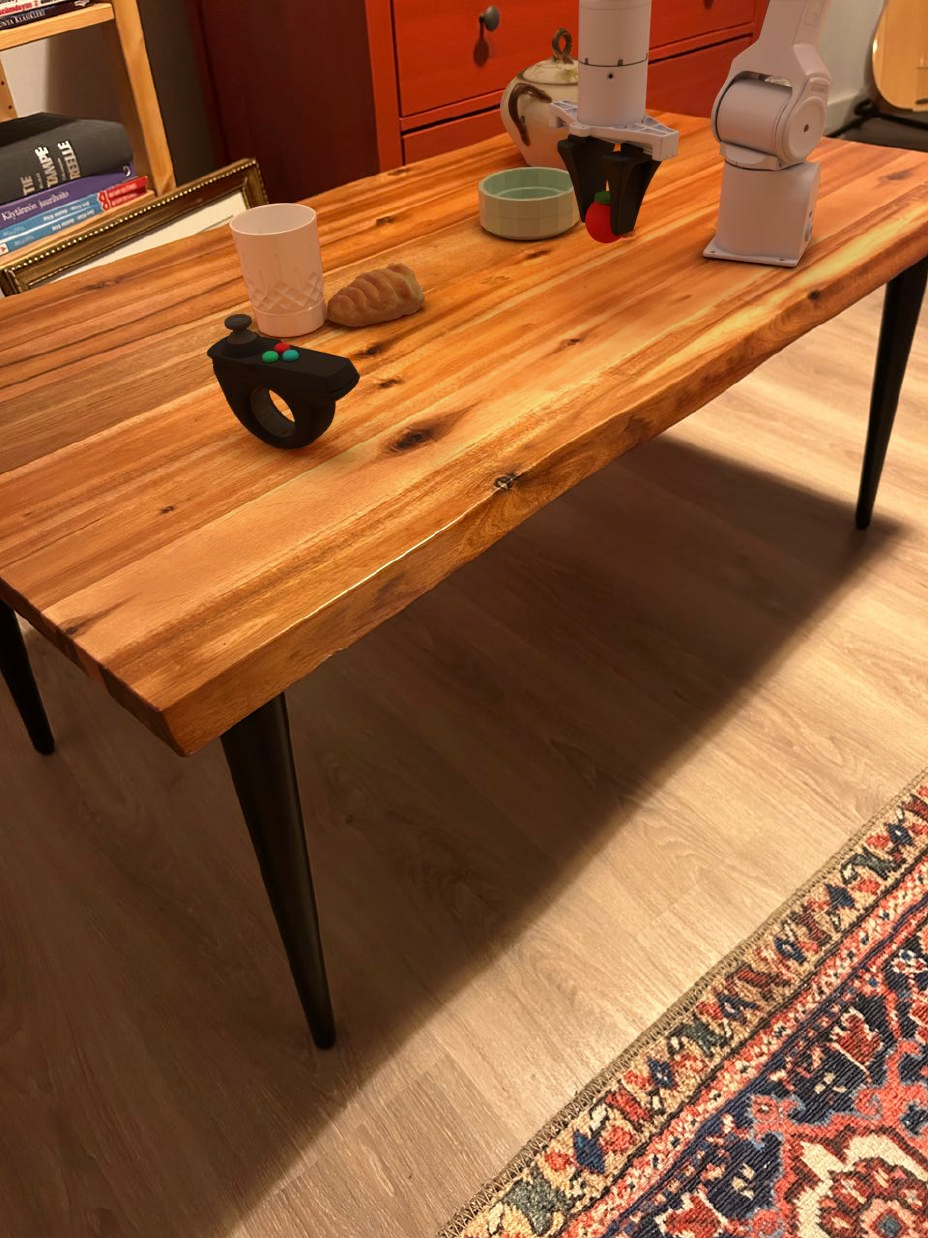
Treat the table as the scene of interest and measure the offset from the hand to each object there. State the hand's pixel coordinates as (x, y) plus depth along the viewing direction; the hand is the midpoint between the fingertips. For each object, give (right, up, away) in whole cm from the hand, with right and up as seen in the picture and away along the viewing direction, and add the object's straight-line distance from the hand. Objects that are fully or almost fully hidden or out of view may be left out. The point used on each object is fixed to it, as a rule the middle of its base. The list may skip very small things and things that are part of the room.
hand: (606, 225), depth 89 cm
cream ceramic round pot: (-1, +24, +38) cm, 45 cm away
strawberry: (0, -1, +1) cm, 1 cm away
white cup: (-30, -7, +6) cm, 31 cm away
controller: (-26, -22, -11) cm, 36 cm away
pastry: (-21, -6, +7) cm, 23 cm away
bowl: (-6, +9, +22) cm, 24 cm away
